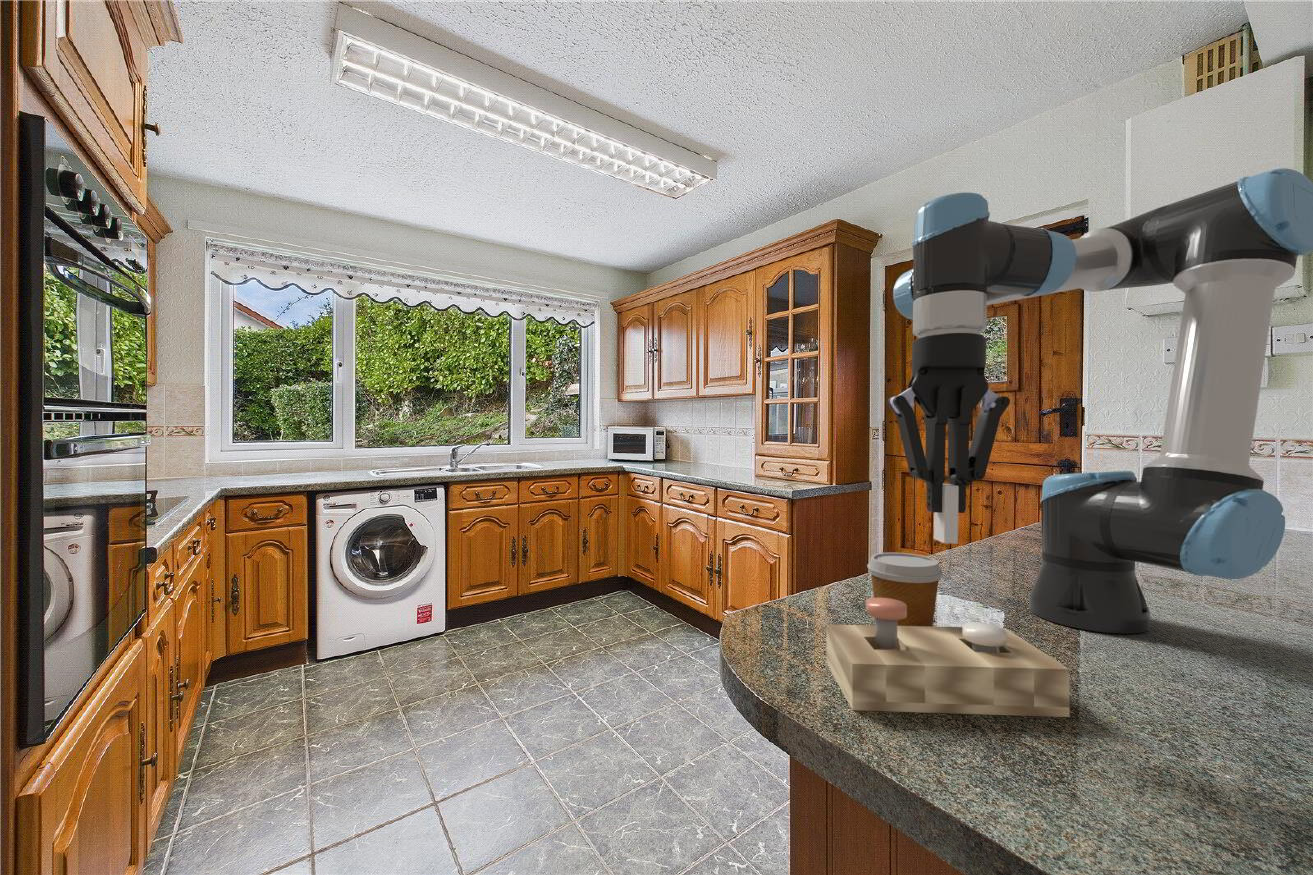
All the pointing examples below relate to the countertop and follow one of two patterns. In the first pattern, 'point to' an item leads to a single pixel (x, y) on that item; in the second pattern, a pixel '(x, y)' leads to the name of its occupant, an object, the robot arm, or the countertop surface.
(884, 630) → the pink round-capped knob part
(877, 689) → the block
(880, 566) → the disposable coffee cup
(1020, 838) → the countertop surface
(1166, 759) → the countertop surface
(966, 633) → the white mushroom knob
